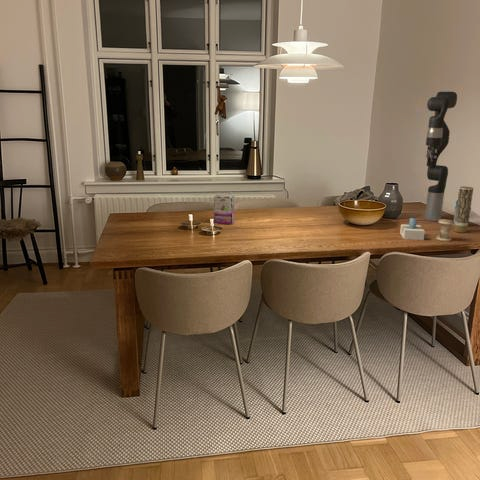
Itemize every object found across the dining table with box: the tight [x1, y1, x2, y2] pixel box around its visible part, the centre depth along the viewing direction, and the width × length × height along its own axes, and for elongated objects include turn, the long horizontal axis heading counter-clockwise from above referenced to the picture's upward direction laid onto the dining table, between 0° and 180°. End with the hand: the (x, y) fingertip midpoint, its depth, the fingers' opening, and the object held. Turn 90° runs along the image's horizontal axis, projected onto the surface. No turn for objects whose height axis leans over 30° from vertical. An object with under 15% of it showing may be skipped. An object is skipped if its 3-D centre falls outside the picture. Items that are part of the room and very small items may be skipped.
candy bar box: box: [213, 194, 235, 225], centre depth 277 cm, size 11×5×16 cm, turn 76°
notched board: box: [399, 224, 426, 241], centre depth 254 cm, size 12×10×5 cm
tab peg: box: [408, 217, 418, 229], centre depth 254 cm, size 4×4×9 cm
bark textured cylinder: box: [452, 193, 472, 226], centre depth 275 cm, size 8×8×20 cm
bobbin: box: [435, 218, 454, 242], centre depth 249 cm, size 8×8×10 cm
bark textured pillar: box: [453, 186, 474, 234], centre depth 261 cm, size 7×7×25 cm
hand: (430, 167), depth 254 cm, fingers open, 8 cm apart
